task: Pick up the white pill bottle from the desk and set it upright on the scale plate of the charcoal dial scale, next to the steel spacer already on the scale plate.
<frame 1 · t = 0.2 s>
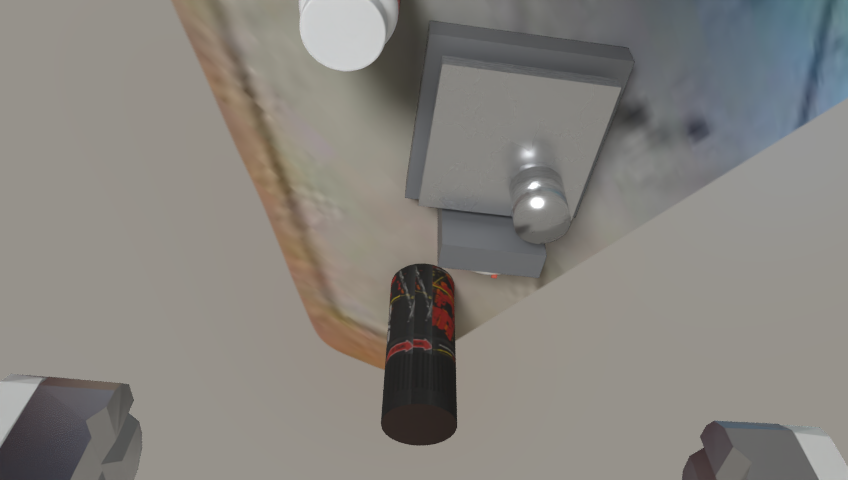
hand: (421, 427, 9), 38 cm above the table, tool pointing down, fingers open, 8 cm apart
scale plate: (511, 146, 48), point 3 cm above the table, slide at -0.4 cm, touching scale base, spacer
spacer: (536, 187, 50), point 4 cm above the table, touching scale plate
deodorant: (422, 284, 63), on the table
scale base: (508, 120, 50), on the table
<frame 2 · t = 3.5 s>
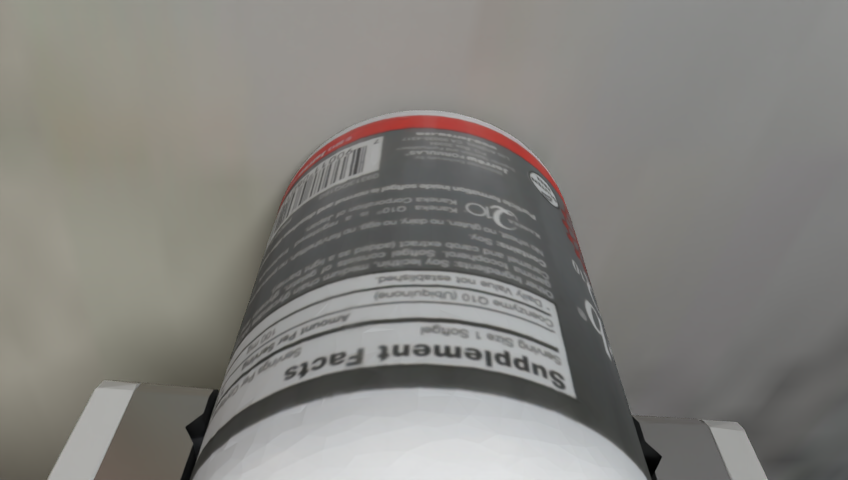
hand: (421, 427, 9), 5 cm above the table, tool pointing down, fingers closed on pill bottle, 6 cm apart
pill bottle: (423, 223, 14), on the table, touching gripper
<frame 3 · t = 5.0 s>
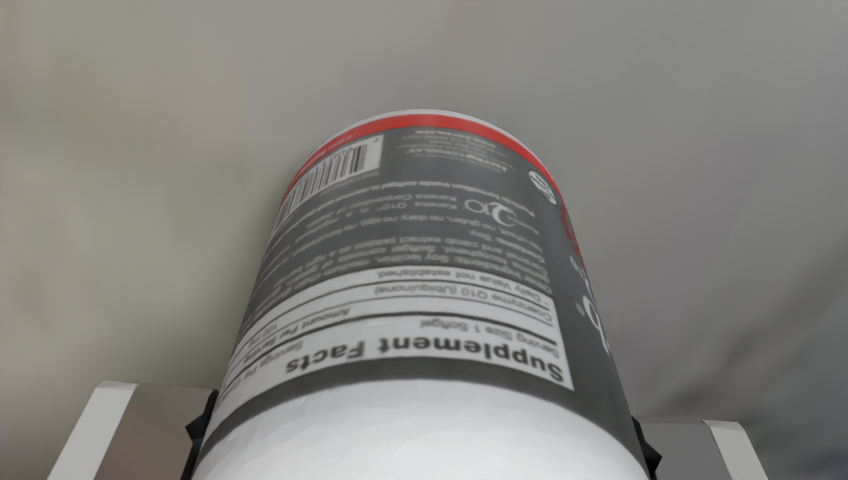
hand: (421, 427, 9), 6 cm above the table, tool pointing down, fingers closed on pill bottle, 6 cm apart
pill bottle: (423, 221, 14), point 1 cm above the table, touching gripper
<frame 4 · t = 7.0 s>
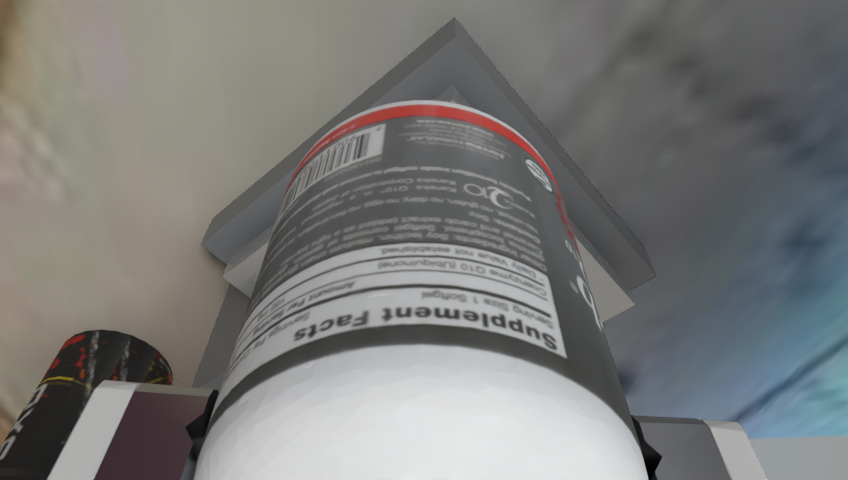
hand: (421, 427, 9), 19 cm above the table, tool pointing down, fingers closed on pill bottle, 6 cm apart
scale plate: (431, 281, 28), point 3 cm above the table, slide at -0.4 cm, touching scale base, spacer
pill bottle: (423, 211, 14), point 13 cm above the table, touching gripper
deodorant: (118, 366, 36), on the table
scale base: (431, 233, 30), on the table
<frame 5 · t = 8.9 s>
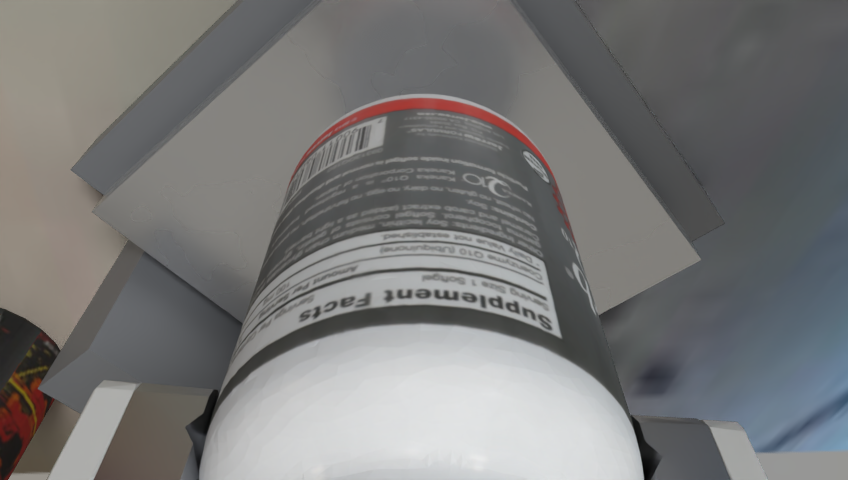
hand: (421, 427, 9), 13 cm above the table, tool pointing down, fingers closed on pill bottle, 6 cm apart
scale plate: (404, 223, 19), point 3 cm above the table, slide at -0.4 cm, touching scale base, spacer
pill bottle: (423, 203, 14), point 7 cm above the table, touching gripper
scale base: (407, 163, 22), on the table
when the fingers open (11 cm above the table, at t = 10.3 s): pill bottle stays where it is, resting on scale plate.
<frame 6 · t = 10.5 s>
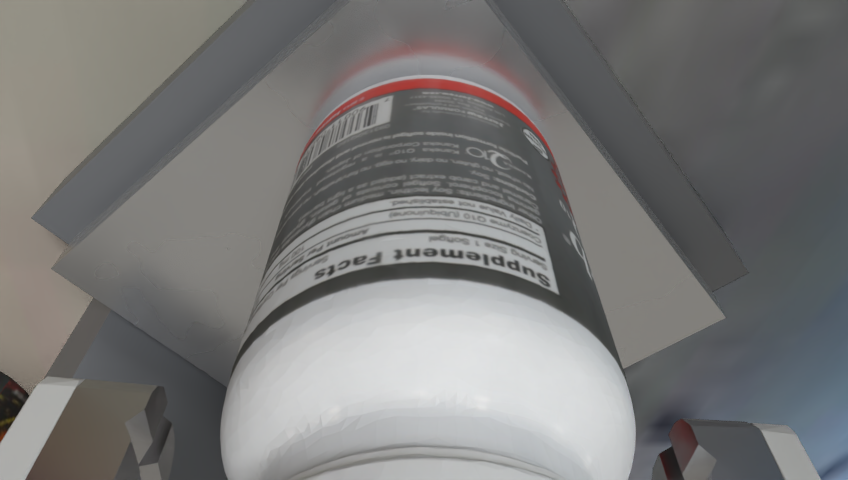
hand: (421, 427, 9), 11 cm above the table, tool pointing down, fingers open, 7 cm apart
scale plate: (398, 278, 17), point 3 cm above the table, slide at -0.4 cm, touching pill bottle, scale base, spacer
pill bottle: (427, 182, 15), point 4 cm above the table, touching scale plate
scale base: (402, 206, 20), on the table
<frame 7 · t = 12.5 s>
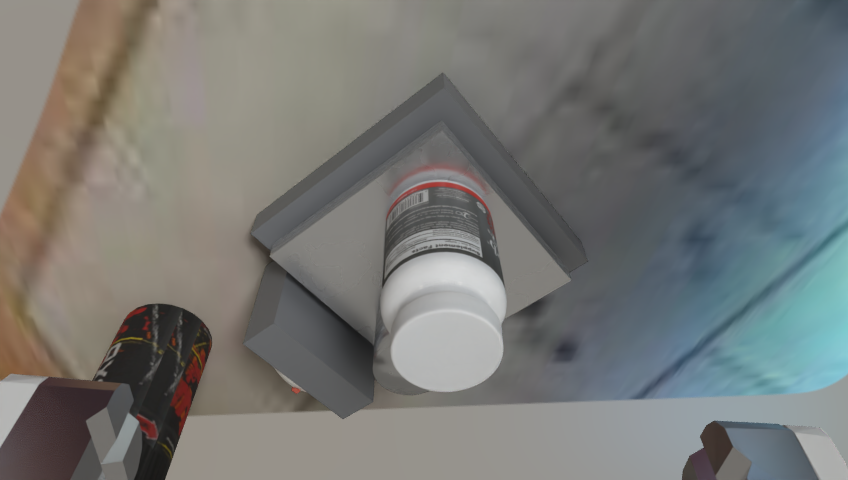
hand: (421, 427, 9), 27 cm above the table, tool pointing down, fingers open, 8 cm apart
scale plate: (423, 262, 38), point 3 cm above the table, slide at -0.4 cm, touching pill bottle, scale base, spacer
spacer: (409, 320, 39), point 4 cm above the table, touching scale plate
pill bottle: (438, 219, 35), point 4 cm above the table, touching scale plate
deodorant: (168, 334, 45), on the table
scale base: (422, 228, 40), on the table
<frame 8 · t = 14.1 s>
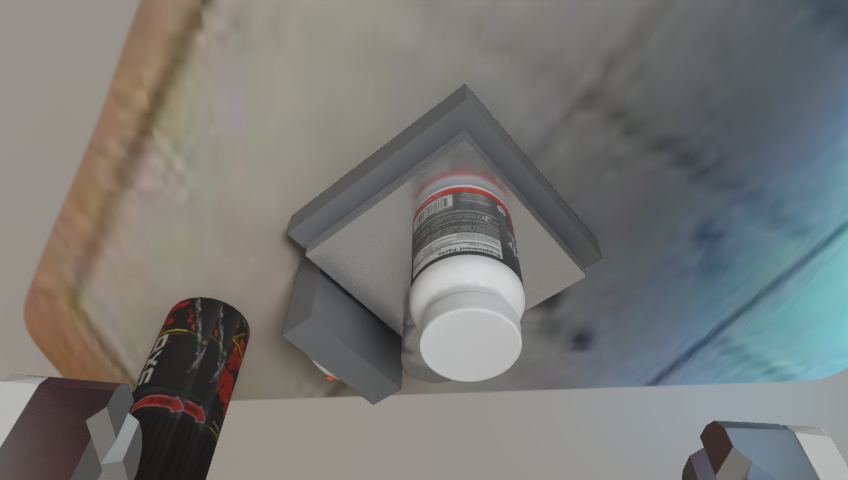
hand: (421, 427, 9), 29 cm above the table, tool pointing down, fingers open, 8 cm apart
scale plate: (447, 259, 40), point 3 cm above the table, slide at -0.4 cm, touching pill bottle, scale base, spacer
spacer: (434, 313, 42), point 4 cm above the table, touching scale plate
pill bottle: (461, 221, 38), point 4 cm above the table, touching scale plate
deodorant: (209, 326, 49), on the table
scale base: (445, 227, 43), on the table
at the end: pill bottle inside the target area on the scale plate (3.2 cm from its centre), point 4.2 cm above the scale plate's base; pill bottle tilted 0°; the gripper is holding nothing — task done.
